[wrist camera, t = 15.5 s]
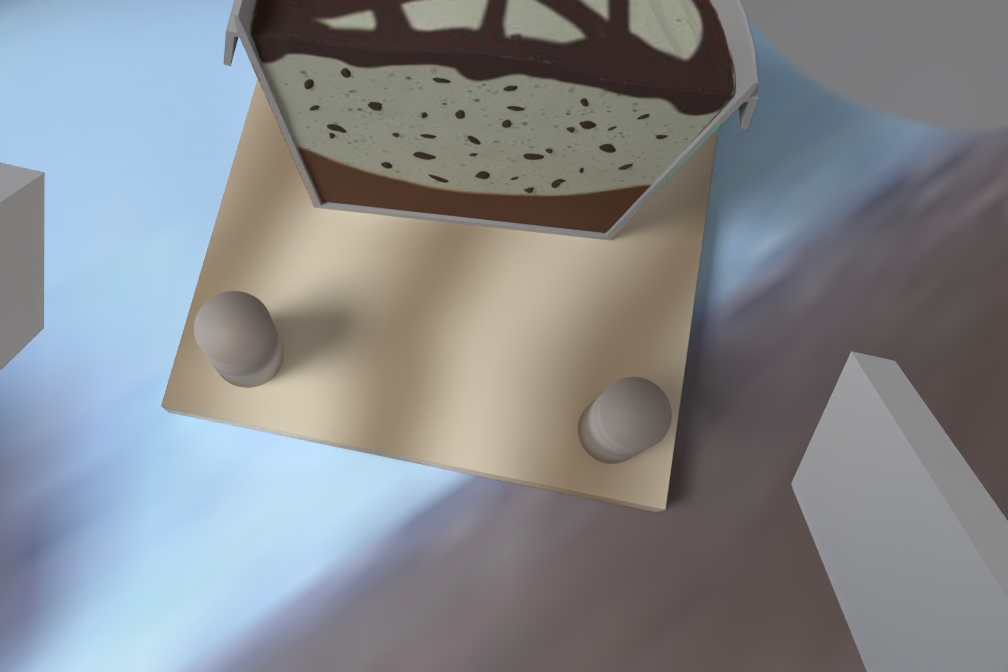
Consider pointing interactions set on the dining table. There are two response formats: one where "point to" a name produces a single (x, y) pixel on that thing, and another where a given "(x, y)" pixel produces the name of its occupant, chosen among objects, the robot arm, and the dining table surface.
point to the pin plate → (446, 332)
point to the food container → (497, 102)
